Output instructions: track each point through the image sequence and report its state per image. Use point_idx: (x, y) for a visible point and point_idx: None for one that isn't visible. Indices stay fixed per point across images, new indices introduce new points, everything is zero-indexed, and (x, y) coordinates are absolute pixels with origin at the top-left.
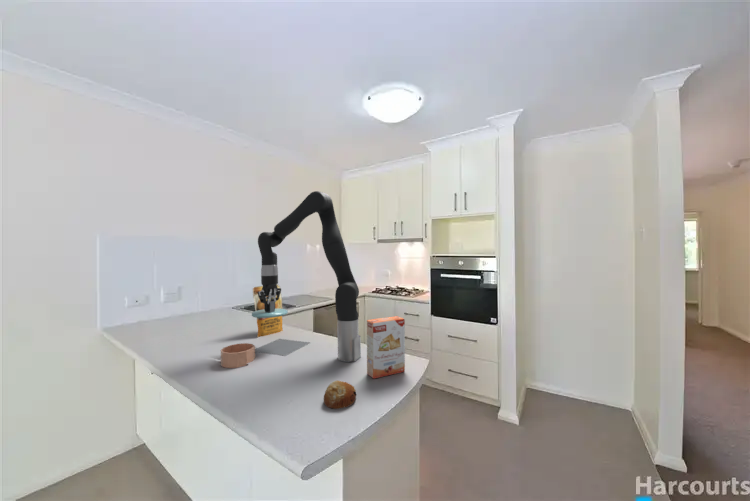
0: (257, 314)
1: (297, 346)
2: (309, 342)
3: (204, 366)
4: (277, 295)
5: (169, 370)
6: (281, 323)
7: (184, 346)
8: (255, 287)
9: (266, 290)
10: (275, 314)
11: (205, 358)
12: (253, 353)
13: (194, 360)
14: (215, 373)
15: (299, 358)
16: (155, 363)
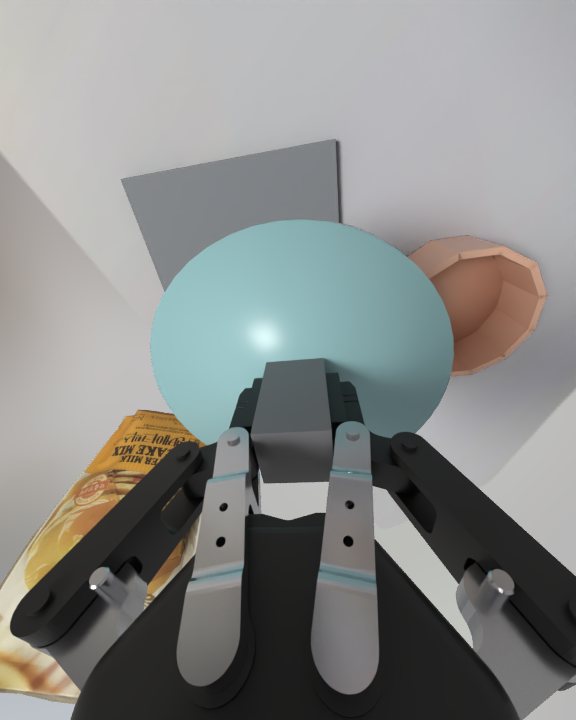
0: (418, 394)
1: (204, 199)
2: (125, 188)
3: (499, 362)
4: (163, 502)
5: (540, 414)
6: (113, 440)
7: None
8: None
9: (456, 668)
10: (365, 253)
11: (435, 412)
12: (436, 253)
13: (456, 422)
14: (561, 275)
15: (310, 34)
16: (494, 473)
